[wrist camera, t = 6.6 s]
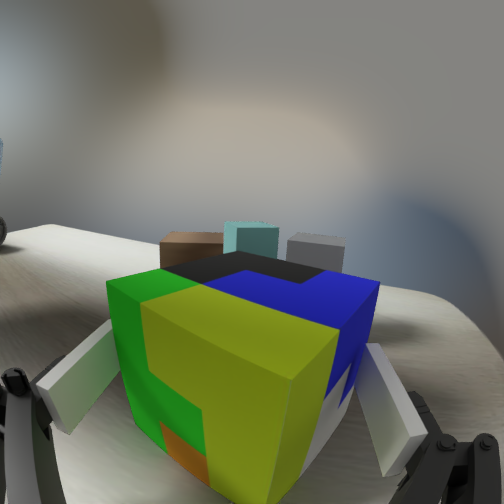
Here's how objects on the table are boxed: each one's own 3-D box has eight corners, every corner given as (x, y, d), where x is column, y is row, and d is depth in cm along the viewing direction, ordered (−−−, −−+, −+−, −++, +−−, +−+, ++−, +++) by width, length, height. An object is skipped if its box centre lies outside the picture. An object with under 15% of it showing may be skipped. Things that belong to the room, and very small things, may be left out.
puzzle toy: (345, 414, 16) (380, 281, 14) (261, 519, 9) (291, 379, 6) (234, 366, 22) (238, 250, 20) (135, 424, 14) (105, 281, 12)
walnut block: (166, 352, 23) (159, 242, 21) (174, 326, 28) (171, 231, 26) (221, 354, 24) (223, 243, 22) (221, 327, 29) (223, 232, 26)
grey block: (278, 340, 27) (287, 240, 24) (289, 319, 31) (297, 232, 29) (328, 349, 25) (344, 246, 23) (332, 326, 30) (345, 237, 28)
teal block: (233, 313, 32) (236, 227, 30) (222, 297, 37) (224, 221, 35) (273, 308, 34) (279, 227, 32) (257, 294, 39) (262, 221, 36)
